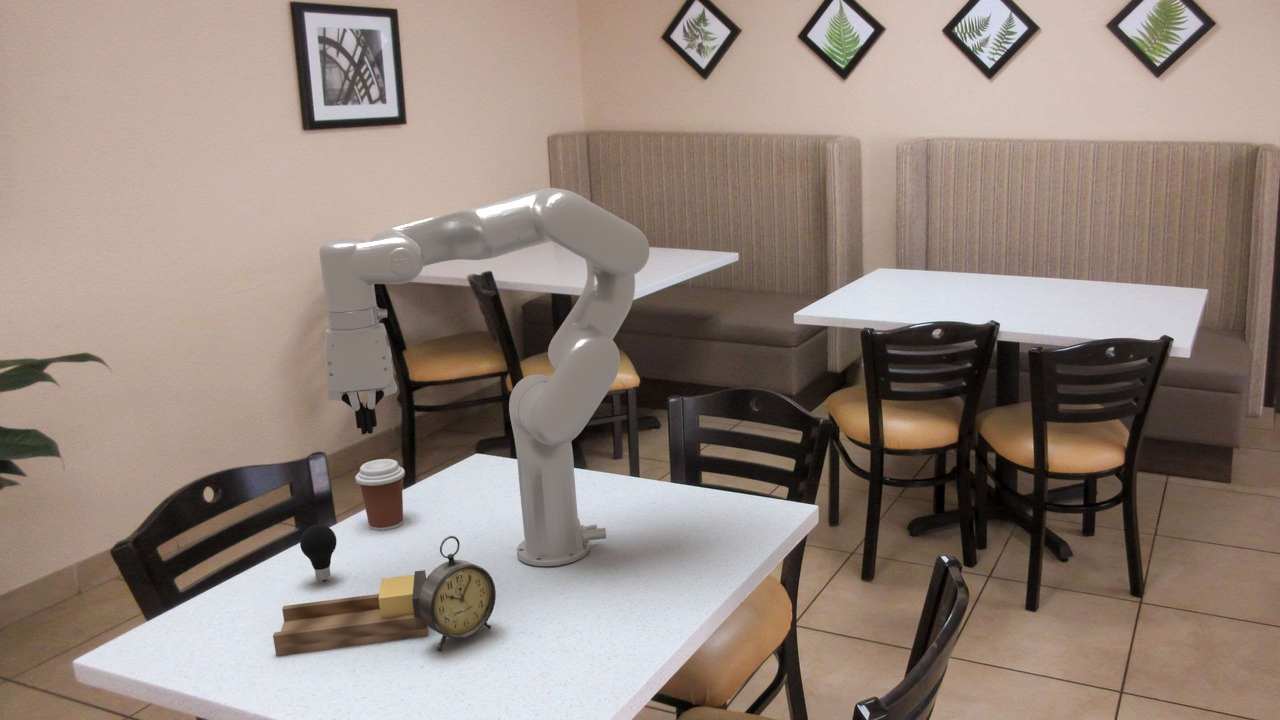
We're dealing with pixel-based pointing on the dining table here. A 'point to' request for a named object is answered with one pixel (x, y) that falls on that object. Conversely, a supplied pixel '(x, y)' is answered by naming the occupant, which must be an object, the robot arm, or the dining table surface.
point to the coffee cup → (382, 493)
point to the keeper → (396, 596)
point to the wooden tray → (346, 623)
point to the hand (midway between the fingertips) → (367, 431)
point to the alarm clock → (457, 598)
